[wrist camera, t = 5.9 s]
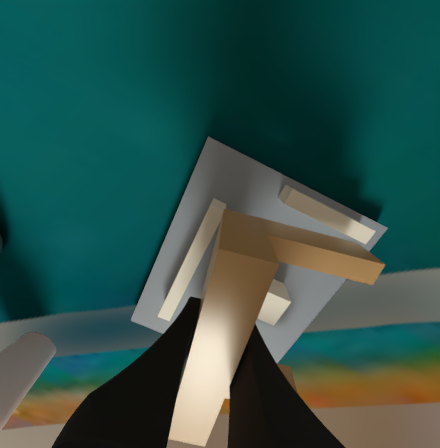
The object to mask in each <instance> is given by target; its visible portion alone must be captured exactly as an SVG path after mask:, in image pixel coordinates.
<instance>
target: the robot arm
mask: <svg viewBox="0 0 440 448" xmlns="http://www.w3.org/2000/svg"><path fill="white" fill-rule="evenodd" d="M200 303H201V299H200V298H196V297H192V296H191V297H189V299H188V301H187V303H186V305H185V306H184V308H183V310H182V311H181V312H180V314H179V315H178V317H177V318H176V319H175V321H174V322H173V323H172V324H171V325H170V327H169V328H168V329H167V330H166V331H165V332H164V334H163V335H162V336H161V337H160V338H159V339H158V340H157V341H156V342H155V343H154V344H153V345H152V346H151V347H150V348H149V349H148V350H147V351H145V352H144V353H143V354H142V355H141V356H140V357H139V358H138V359H136V360H135V361H134V362H133V363H132V364H130V365H129V366H128V367H126V368H125V369H124V370H123V371H121V372H120V373H119V374H117V375H116V376H115V377H113V378H112V379H111V380H109V381H108V382H106V383H105V384H103V385H102V386H100V387H99V388H97V389H96V390H94V391H93V392H91V393H90V394H89V395H88V396H87V397H86V398H85V399H84V401H83V402H82V403H81V404H80V405H79V407H78V408H77V409H76V410H75V412H74V413H73V414H72V416H71V417H70V419H69V420H68V421H67V423H66V424H65V426H64V428H63V429H62V431H61V432H60V434H59V436H58V437H57V439H56V441H55V442H54V444H53V446H52V448H166V446H167V441H168V437H169V433H170V428H171V423H172V418H173V413H174V408H175V403H176V399H177V394H178V389H179V384H180V379H181V375H182V370H183V366H184V362H185V359H186V356H187V353H188V350H189V346H190V342H191V339H192V335H193V331H194V328H195V324H196V320H197V317H198V313H199V308H200ZM229 392H230V413H229V434H228V448H345V447H344V446H343V445H342V444H341V443H340V442H339V441H338V440H337V439H336V437H334V435H333V434H331V432H330V431H329V430H328V429H327V428H326V427H325V426H324V425H323V424H322V422H321V421H320V420H319V419H318V418H317V417H316V416H315V415H314V413H313V412H312V411H311V410H310V409H309V407H308V406H307V405H306V404H305V403H304V401H303V400H302V399H301V397H300V396H299V395H298V394H297V392H296V391H295V390H294V388H293V387H292V386H291V384H290V383H289V382H288V380H287V379H286V377H285V376H284V374H283V373H282V371H281V370H280V368H279V367H278V365H277V363H276V362H275V360H274V358H273V357H272V355H271V353H270V351H269V349H268V348H267V346H266V344H265V342H264V340H263V338H262V336H261V334H260V332H259V330H258V328H257V326H256V324H255V325H254V327H253V330H252V332H251V335H250V337H249V340H248V342H247V344H246V347H245V349H244V352H243V354H242V357H241V359H240V362H239V364H238V367H237V369H236V371H235V374H234V376H233V379H232V381H231V384H230V386H229Z"/></svg>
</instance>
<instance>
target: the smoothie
mask: <svg viewBox="0 0 440 448" xmlns="http://www.w3.org/2000/svg"><path fill="white" fill-rule="evenodd" d="M55 352H56V347H55V345H54V343H53V342H52V341H51V339H49V338H48V337H47V336H45V335H43V334H40V333H37V332H29V333H26V334H25V335H23V336H22V337H21V338H19V339H18V340H16V341H15V342H14V343H12V344H11V345H9V346H8V347H7V348H5V349H4V350H3V351H1V352H0V431H1V429H2V428H3V426H4V425H5V424H6V422H7V421H8V419H9V418H10V417H11V415H12V414H13V412H14V411H15V409H16V408H17V407H18V405H19V404H20V402H21V401H22V400H23V398H24V397H25V395H26V394H27V392H28V391H29V390H30V388H31V387H32V385H33V384H34V383H35V381H36V380H37V378H38V377H39V375H40V374H41V373H42V371H43V370H44V368H45V367H46V366H47V364H48V363H49V361H50V360H51V358H52V357H53V356H54V354H55Z"/></svg>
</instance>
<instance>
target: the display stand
mask: <svg viewBox="0 0 440 448" xmlns="http://www.w3.org/2000/svg"><path fill="white" fill-rule="evenodd" d="M224 209H228V210H232V211H236V212H240V213H244V214H248V215H251V216H255V217H259V218H263V219H267V220H271V221H275V222H279V223H282V224H286V225H290V226H294V227H298V228H302V229H306V230H310V231H313V232H317V233H321V234H325V235H329V236H333V237H337V238H341V239H344V240H348V241H352V242H356V243H358V244H360V245H361V246H362V247H363V248H365V249H366V250H367V251H368V252H369V251H370V250H371V248H372V247H373V246H374V245H375V243H376V242H377V241H378V240H379V239H380V237H381V236H382V235H383V234H384V232H385V231H386V230H387V229H388V228H387V227H385V226H383V225H381V224H379V223H377V222H375V221H373V220H371V219H369V218H367V217H365V216H363V215H361V214H359V213H357V212H355V211H353V210H351V209H350V208H348V207H346V206H344V205H342V204H340V203H338V202H336V201H334V200H332V199H330V198H328V197H326V196H324V195H322V194H320V193H318V192H316V191H314V190H312V189H310V188H308V187H306V186H304V185H303V184H301V183H299V182H297V181H295V180H293V179H291V178H289V177H287V176H285V175H283V174H281V173H279V172H277V171H275V170H273V169H271V168H269V167H267V166H265V165H263V164H261V163H259V162H257V161H256V160H254V159H252V158H250V157H248V156H246V155H244V154H242V153H240V152H238V151H236V150H234V149H232V148H230V147H228V146H226V145H224V144H222V143H220V142H218V141H216V140H214V139H212V138H210V137H208V138H207V141H206V143H205V145H204V148H203V150H202V153H201V155H200V157H199V160H198V162H197V164H196V167H195V169H194V172H193V174H192V176H191V179H190V181H189V183H188V186H187V188H186V190H185V193H184V195H183V198H182V200H181V202H180V205H179V207H178V209H177V212H176V214H175V217H174V219H173V221H172V224H171V226H170V228H169V231H168V233H167V235H166V238H165V240H164V243H163V245H162V247H161V250H160V252H159V254H158V257H157V259H156V262H155V264H154V266H153V269H152V271H151V273H150V276H149V278H148V281H147V283H146V285H145V288H144V290H143V292H142V295H141V297H140V299H139V302H138V304H137V307H136V309H135V311H134V314H133V316H132V319H131V321H133V322H135V323H138V324H140V325H143V326H145V327H148V328H151V329H153V330H155V331H158V332H160V333H163V334H164V332H165V331H166V330H167V329H168V328H169V327H170V325H171V324H172V323H173V322H174V321H175V319H176V318H177V317H178V315H179V314H180V312H181V311H182V310H183V308H184V306H185V305H186V303H187V301H188V299H189V297H191V296H192V297H196V298H200V296H201V292H202V289H203V285H204V281H205V278H206V274H207V270H208V266H209V263H210V259H211V255H212V251H213V248H214V244H215V240H216V237H217V233H218V229H219V225H220V222H221V218H222V214H223V211H224ZM278 262H279V261H278ZM346 279H347V278H343V277H339V276H335V275H331V274H327V273H323V272H319V271H315V270H311V269H307V268H303V267H299V266H295V265H291V264H287V263H283V262H279V266H278V269H277V271H276V273H275V276H274V278H273V281H272V283H271V286H270V288H269V291H268V293H267V296H266V298H265V300H264V303H263V305H262V308H261V310H260V313H259V315H258V318H257V320H256V322H255V324H256V326H257V328H258V330H259V332H260V334H261V336H262V338H263V340H264V342H265V344H266V346H267V348H268V349H269V351H270V353H271V355H272V357H273V358H274V360H275V362H276V363H278V362H279V361H280V359H281V358H282V357H283V356H284V354H285V353H286V352H287V351H288V350H289V348H290V347H291V346H292V345H293V344H294V342H295V341H296V340H297V339H298V337H299V336H300V335H301V334H302V333H303V331H304V330H305V329H306V328H307V326H308V325H309V324H310V323H311V322H312V320H313V319H314V318H315V317H316V315H317V314H318V313H319V312H320V310H321V309H322V308H323V307H324V306H325V304H326V303H327V302H328V301H329V300H330V298H331V297H332V296H333V294H334V293H335V292H336V291H337V290H338V289H339V287H340V286H341V285H342V284H343V282H344V281H345V280H346Z"/></svg>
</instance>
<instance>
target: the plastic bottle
mask: <svg viewBox="0 0 440 448" xmlns="http://www.w3.org/2000/svg"><path fill="white" fill-rule="evenodd" d="M2 247H3V242H2V238H1V235H0V254H1V251H2Z"/></svg>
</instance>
